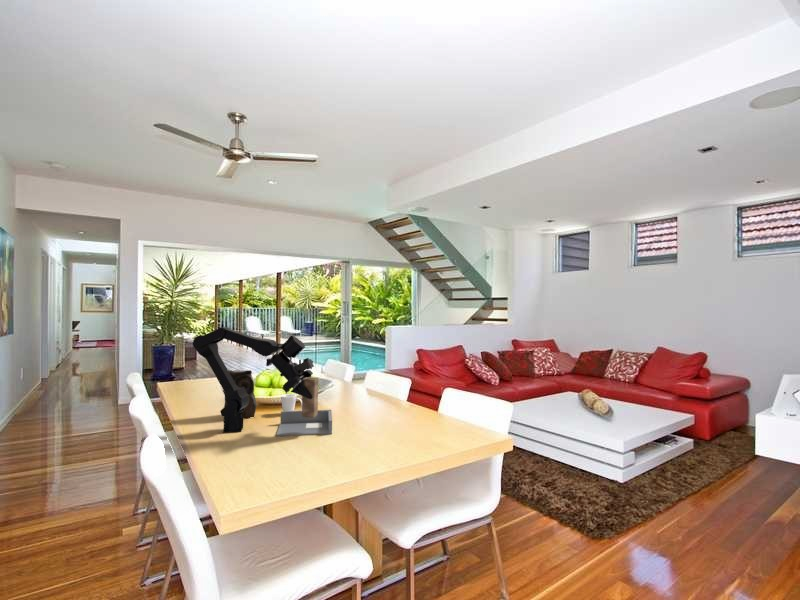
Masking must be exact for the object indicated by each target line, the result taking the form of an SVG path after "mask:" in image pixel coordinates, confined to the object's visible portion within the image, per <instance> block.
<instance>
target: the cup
mask: <svg viewBox="0 0 800 600" xmlns="http://www.w3.org/2000/svg"><path fill="white" fill-rule="evenodd" d="M297 395H298V394H296V393H285V394H281V396H280V399H281V407H282V411H295V406H296V401H297V400H299V401H300V404H301V405H300V406H301V407H300V409H299V410H298V411H302V398H299V397H297Z"/></svg>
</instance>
